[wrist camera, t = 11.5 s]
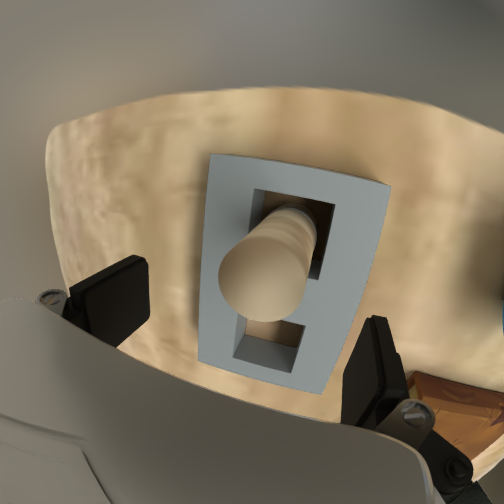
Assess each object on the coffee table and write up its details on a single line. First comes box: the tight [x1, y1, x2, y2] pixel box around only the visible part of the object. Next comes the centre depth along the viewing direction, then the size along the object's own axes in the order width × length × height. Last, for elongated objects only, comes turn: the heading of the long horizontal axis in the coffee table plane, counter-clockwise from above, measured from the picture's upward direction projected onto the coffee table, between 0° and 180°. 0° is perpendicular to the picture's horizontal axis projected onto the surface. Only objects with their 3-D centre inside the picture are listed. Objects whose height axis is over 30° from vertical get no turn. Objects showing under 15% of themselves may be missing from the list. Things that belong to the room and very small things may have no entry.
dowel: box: [218, 203, 317, 322], centre depth 18 cm, size 4×4×12 cm
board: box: [198, 154, 391, 395], centre depth 23 cm, size 20×13×4 cm, turn 173°
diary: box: [407, 372, 504, 461], centre depth 24 cm, size 23×19×6 cm
